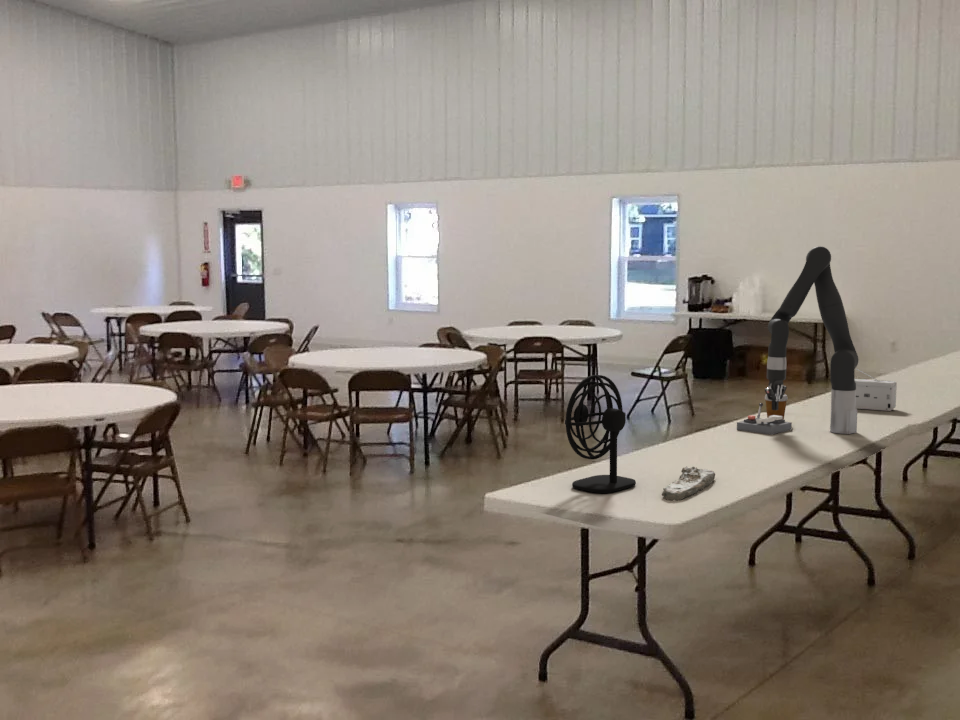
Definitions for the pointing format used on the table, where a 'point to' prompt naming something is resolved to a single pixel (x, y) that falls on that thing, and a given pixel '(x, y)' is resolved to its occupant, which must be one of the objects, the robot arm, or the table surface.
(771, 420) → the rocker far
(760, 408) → the toggle
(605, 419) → the desk fan
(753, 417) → the button
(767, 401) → the disposable coffee cup
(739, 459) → the table surface
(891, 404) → the stereo radio cassette player
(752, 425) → the panel
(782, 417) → the paddle
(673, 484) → the long grey stone
